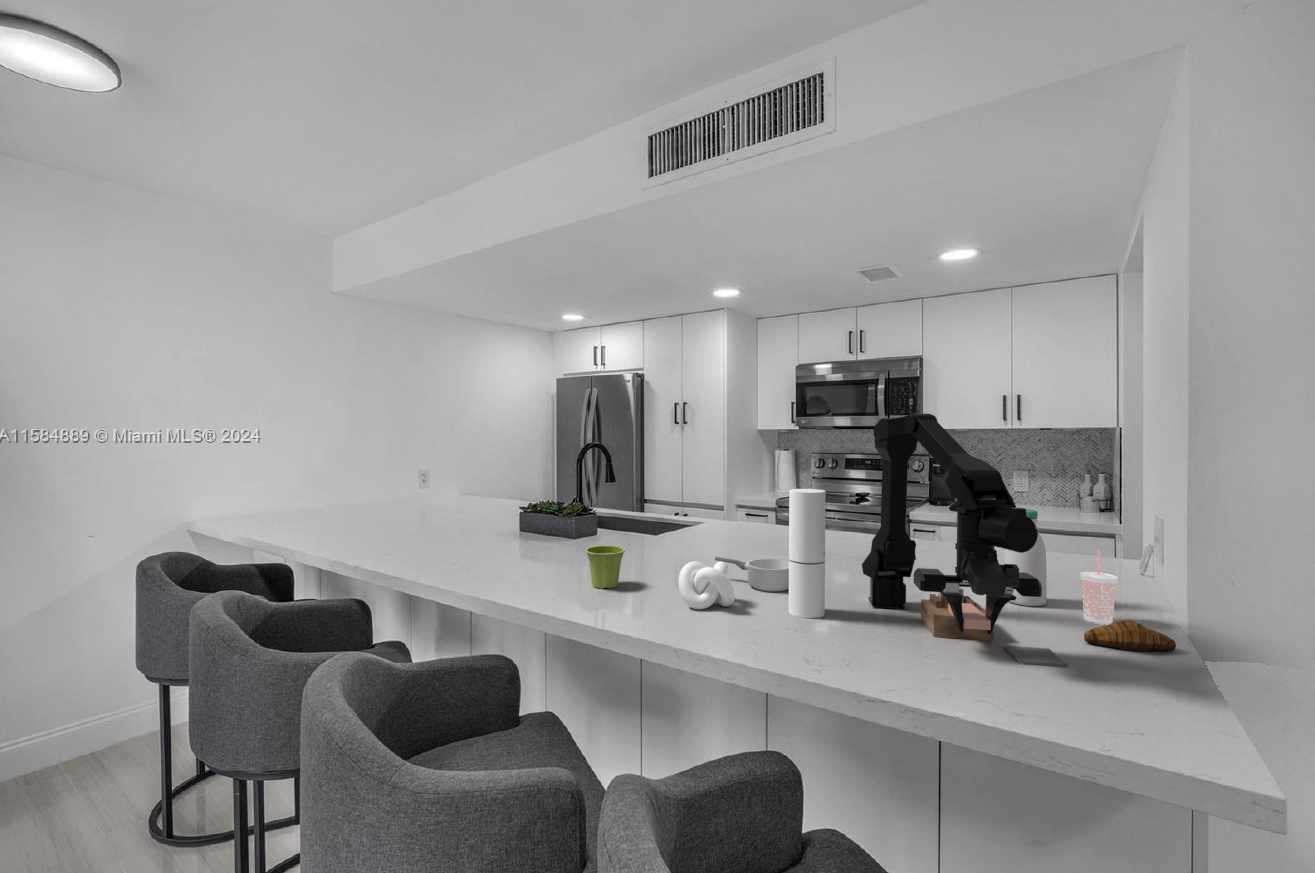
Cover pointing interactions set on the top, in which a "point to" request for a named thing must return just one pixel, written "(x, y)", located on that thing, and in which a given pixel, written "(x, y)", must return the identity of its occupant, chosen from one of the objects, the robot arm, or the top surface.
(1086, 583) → the beverage cup
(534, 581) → the top surface
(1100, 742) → the top surface
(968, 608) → the salmon pink rectangular block
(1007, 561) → the milk bottle
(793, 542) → the cylindrical container
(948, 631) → the dispenser
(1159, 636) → the croissant
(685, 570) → the white decorative knot
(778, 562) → the saucepan
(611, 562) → the plant pot
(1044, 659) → the pad
